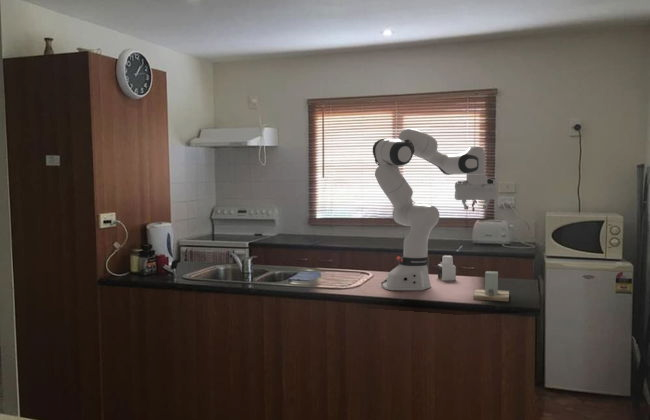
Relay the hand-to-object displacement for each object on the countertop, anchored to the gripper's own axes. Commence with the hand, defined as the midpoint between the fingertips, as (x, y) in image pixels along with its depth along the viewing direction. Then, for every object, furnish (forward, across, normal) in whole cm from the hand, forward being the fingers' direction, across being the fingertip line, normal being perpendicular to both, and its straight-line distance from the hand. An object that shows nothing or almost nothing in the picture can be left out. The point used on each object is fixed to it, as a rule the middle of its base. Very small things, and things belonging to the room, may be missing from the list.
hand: (475, 209), depth 270 cm
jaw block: (+34, -6, -34) cm, 48 cm away
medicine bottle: (+35, -12, +7) cm, 38 cm away
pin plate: (+35, -6, -34) cm, 49 cm away
